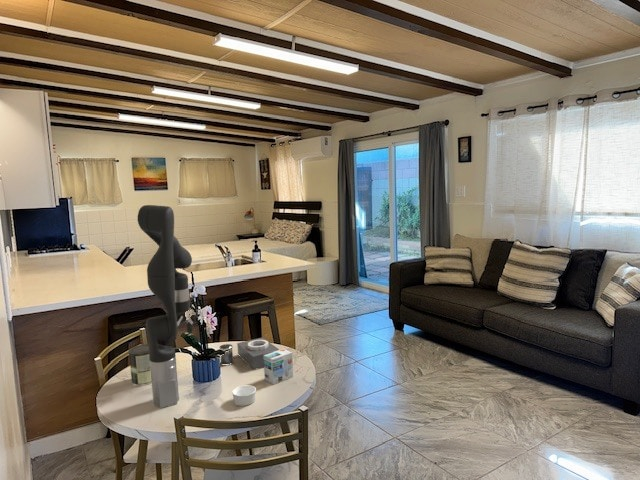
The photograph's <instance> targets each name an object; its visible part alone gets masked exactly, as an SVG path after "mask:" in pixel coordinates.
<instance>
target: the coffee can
mask: <svg viewBox="0 0 640 480" xmlns="http://www.w3.org/2000/svg"><path fill="white" fill-rule="evenodd" d="M128 355H129V366H130V375H131V384H132V386H135V387H142V386H143V387H144V386H147V385H152V381H151V370H150V359H149V348H148V343H146V344H140V345H136V346H133V347H131V348H130V349H129V350H128Z"/></svg>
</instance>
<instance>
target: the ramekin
mask: <svg viewBox="0 0 640 480" xmlns="http://www.w3.org/2000/svg"><path fill="white" fill-rule="evenodd" d="M256 392H257V388H256V386H253V385H251V384H250V385H249V384H245V385H239V386H237V387H236V386H235V388H234V389H233V390H232V391H231V393H232V398H233V403H234V404H235V405H236V406H238V407H246V406H249V405H252V404H254V402H255V401H256V394H257V393H256Z"/></svg>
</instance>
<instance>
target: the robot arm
mask: <svg viewBox="0 0 640 480" xmlns="http://www.w3.org/2000/svg"><path fill="white" fill-rule="evenodd" d="M137 223H138V226H139V228H140V229H141V231H142V232H144V234H146V235H147V236H148V237H149V238H150V239H151V240H152V241H154V243H155V244H157V246H158V248H157V250H156V251H155V253H154V254H153V256H152V258H151V259H150V261H149V263H148V265H147V268H146V274H147V275H146V276H147V277H146V278H147V285H148V288H149V290H150V291H151V292H152V293H153V295H154V296H155V297H156V298H157V299H158V300H159V302H160V303H161V304H162V306H163V307H164V308H165V310H166V311H165V312H166V314H164V315H158V316H153V317H148V318H147V319H146V321H145V332H146V339H147V344H148V348H149V359H150V370H151V381H152V383H151V389H152V390H151V391H152V401H153V405H154V406H155V407H159V408H160V409H162V408H166V407H169V406H173V405H177V404H178V401H179V400H180V396H179V395H180V393H179V381H178V370H177V356H176V349H175V348H174V347H173V346H169V345H163V344H159V342H162V341H163V342H164V341H168V340H173V341H176V340H177V335H178V327H179V326H180V324H182V323H187V324H186V332H187V333H188V334H192V333H193V325H194V323H196V321H197V316H195V315H192V316H191V317H190V316H189V317H190V318H189V320H186V317H185V312H186V311H188V310H189V311H190V310H191V308H192V307H191V304H190V302H191V301H190V289H189V277H188V275H187V274H185V273H183V272H179V271H178V269H188V268H189V267H190V266H191V265H192V262H193V258H192V254H191V253H190V252H189V251H188V250H187V249H186V248H185V247H184V246H182V245H181V244H180V242H179V240H178V238H177V237H176V236H175V214H174V210H173V209H172V207H170V206H166V205H154V204H153V205H152V204H147V205H143V206H141V207H140V208H139V210H138V213H137Z"/></svg>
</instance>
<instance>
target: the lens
mask: <svg viewBox="0 0 640 480" xmlns="http://www.w3.org/2000/svg"><path fill="white" fill-rule="evenodd" d="M233 348H234V347H233V344H231V343H225V344H222V345H219V351H220V350H229V351H230V352H229V353H226V354H224V355H222V356H221V357H219V358H220V365H221V364H230V363H232V362H233V363H234V356H233V353H234V352H233Z"/></svg>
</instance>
